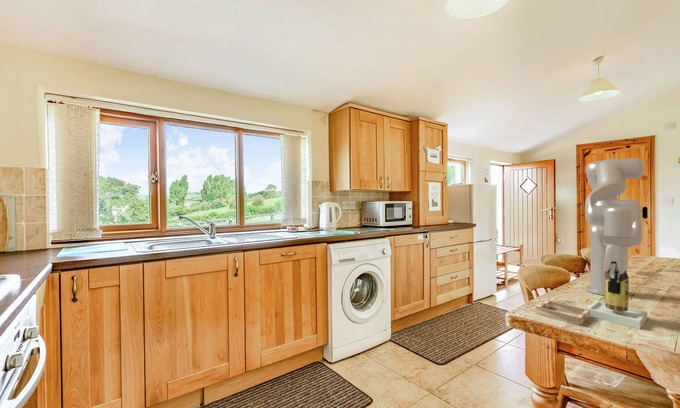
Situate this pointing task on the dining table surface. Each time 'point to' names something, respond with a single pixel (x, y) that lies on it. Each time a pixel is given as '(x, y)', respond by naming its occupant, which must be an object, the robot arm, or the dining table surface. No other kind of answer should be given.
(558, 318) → the tan flat square frame
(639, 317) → the shallow square tray
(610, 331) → the dining table surface
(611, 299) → the sauce bottle
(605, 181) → the robot arm
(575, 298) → the dining table surface
